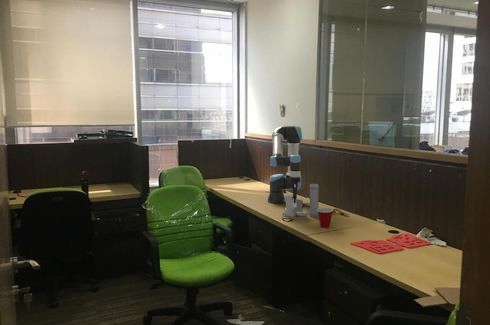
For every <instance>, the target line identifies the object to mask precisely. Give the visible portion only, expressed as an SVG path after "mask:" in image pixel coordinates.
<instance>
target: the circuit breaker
mask: <svg viewBox="0 0 490 325" xmlns="http://www.w3.org/2000/svg"><path fill="white" fill-rule="evenodd" d="M284 196H285V202H284V203H285V208H284V213H285V216H289V217H296V213H303V208H304V207H305V206H306V203H305V204H304V201H303V199H298V198H297V207H293V199H292V197H293V193H292V194H291V193H285V194H284Z"/></svg>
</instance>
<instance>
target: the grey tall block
mask: <svg viewBox="0 0 490 325" xmlns="http://www.w3.org/2000/svg"><path fill="white" fill-rule="evenodd" d="M319 188H320V187H319V184H318V183H309V211H308V212H309V217H310V218H311V217H316V218H317V217H318V218H319V214H318V211H317V209H319V194H320V190H319Z"/></svg>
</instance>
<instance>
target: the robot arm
mask: <svg viewBox="0 0 490 325" xmlns="http://www.w3.org/2000/svg"><path fill="white" fill-rule="evenodd" d="M302 132H303V131H302V128H301V126H299V125H297V126H296V125H293V126H291V125H287V126H285V125H283V126H279V127H277V128H276V129H274V131H273V132H272V134H271V142H272V156H270V157H269V166H271V167H287V172H286V174H285V175H284V174H283V173H277V174H276V173H275V174H273V175H270V176H269V194H268V197H267V202H268V203H270V204H283V203H286V202H285V193H284V190H285V191H286V190H287V191H288V190H291V191H293V192H292V194H293V197H292V199H293V207H297V199H298V198H297V197H298V193H299V192H298V190H300V189H301V186H302V177H303V176H302V175H301V163H302V162H301V155H299V151H300V150H299V147H300V144H301V141H303V133H302ZM284 141H285V142H286V144H287V149H288V150H287V156H284V155H283V152H284V151H283V142H284Z"/></svg>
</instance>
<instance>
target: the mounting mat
mask: <svg viewBox="0 0 490 325" xmlns="http://www.w3.org/2000/svg"><path fill="white" fill-rule="evenodd" d="M281 215H282V216H281V219H285V220H286V219H287V218H291V219H293V220H308V213H307V212H296V217H289V216H285V212H282V214H281ZM291 219H290V220H291ZM287 220H288V219H287Z"/></svg>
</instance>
